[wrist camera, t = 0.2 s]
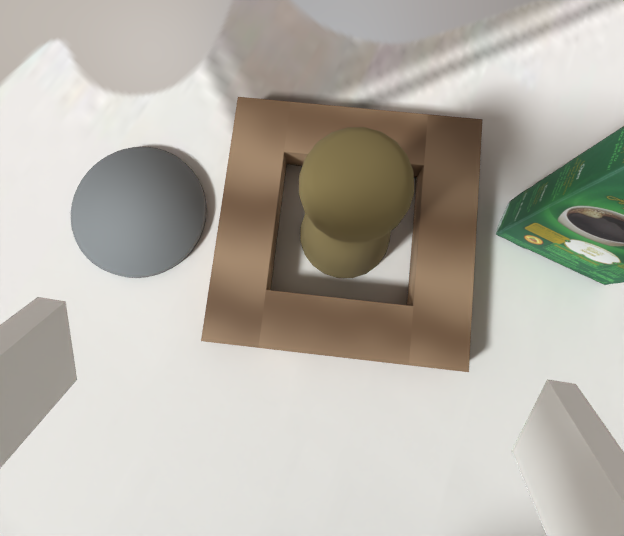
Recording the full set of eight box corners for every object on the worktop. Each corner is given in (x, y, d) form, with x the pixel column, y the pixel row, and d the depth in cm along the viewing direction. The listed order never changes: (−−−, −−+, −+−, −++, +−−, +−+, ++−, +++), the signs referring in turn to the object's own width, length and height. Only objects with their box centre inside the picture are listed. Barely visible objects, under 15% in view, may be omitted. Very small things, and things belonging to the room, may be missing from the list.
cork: (343, 173, 29) (357, 76, 18) (408, 233, 28) (463, 169, 17) (281, 234, 28) (256, 172, 17) (345, 297, 28) (361, 273, 17)
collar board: (457, 369, 27) (468, 372, 25) (209, 340, 27) (201, 340, 25) (471, 134, 29) (482, 119, 27) (243, 112, 30) (238, 96, 28)
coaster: (195, 284, 28) (192, 283, 27) (64, 270, 28) (58, 268, 28) (215, 157, 29) (213, 153, 29) (89, 144, 30) (84, 140, 29)
